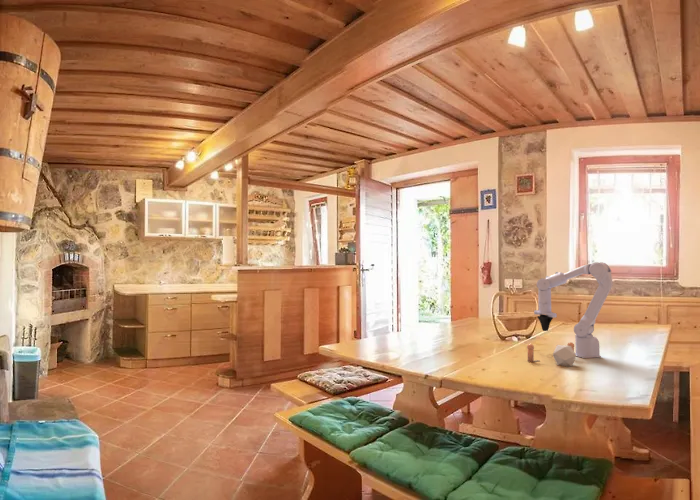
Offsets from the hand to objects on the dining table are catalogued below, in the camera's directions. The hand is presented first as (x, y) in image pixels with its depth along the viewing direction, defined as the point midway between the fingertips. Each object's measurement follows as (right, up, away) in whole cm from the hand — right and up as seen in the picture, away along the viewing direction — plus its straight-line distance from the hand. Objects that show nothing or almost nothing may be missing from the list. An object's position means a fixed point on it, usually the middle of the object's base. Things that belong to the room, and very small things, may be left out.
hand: (545, 330), depth 208 cm
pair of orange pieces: (-7, -9, -21) cm, 24 cm away
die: (-6, -9, -30) cm, 31 cm away
